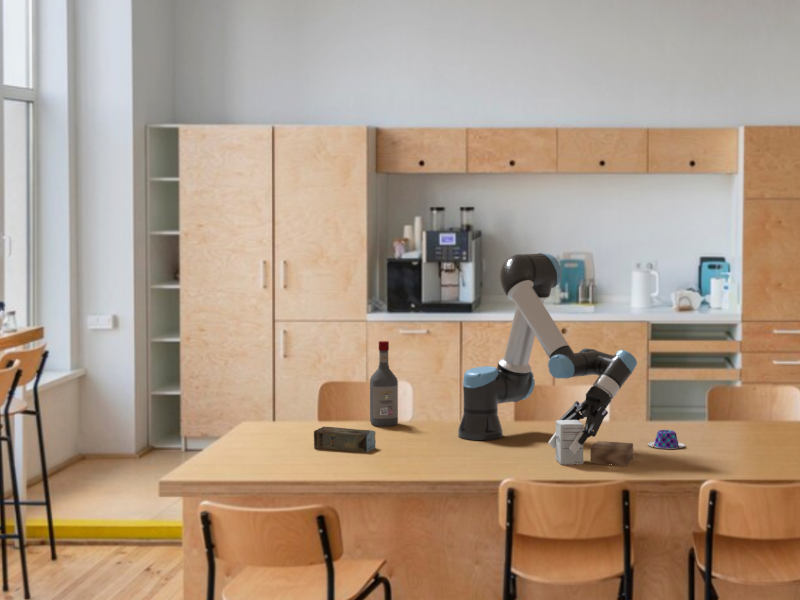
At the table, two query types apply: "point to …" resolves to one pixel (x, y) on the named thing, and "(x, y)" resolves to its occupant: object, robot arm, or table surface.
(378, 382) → the liquor
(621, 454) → the riser block
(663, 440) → the pudding
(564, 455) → the supplement box
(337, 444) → the beverage carton
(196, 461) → the table surface
